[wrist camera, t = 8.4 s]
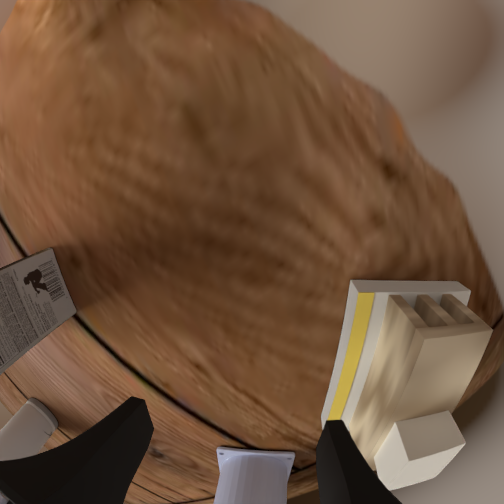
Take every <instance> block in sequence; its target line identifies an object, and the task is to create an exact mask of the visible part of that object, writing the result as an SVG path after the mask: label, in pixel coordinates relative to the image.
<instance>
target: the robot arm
mask: <svg viewBox="0 0 504 504" xmlns="http://www.w3.org/2000/svg"><path fill="white" fill-rule="evenodd" d="M153 431H154V427H153V424H152V421H151V418H150V415H149V412H148V409H147V406H146V403H145V400H144V399H140V398H136V397H133V396H132V397H130V398H129V399H128V400H126V401H125V402H124V403H123V404H121V405H120V406H119V407H118V408H116V409H115V410H114V411H113V412H111V413H110V414H109V415H108V416H106V417H105V418H104V419H102V420H101V421H100V422H98V423H97V424H95V425H94V426H93V427H91V428H90V429H88V430H87V431H85V432H84V433H82V434H80V435H79V436H77V437H76V438H74V439H72V440H70V441H68V442H66V443H64V444H62V445H60V446H58V447H56V448H53V449H51V450H48V451H46V452H43V453H40V454H37V455H33V456H29V457H25V458H20V459H14V460H5V461H0V504H123V502H124V499H125V496H126V493H127V490H128V488H129V485H130V483H131V481H132V479H133V477H134V475H135V473H136V471H137V469H138V467H139V465H140V463H141V461H142V459H143V457H144V455H145V453H146V451H147V449H148V446H149V443H150V440H151V437H152V434H153ZM217 457H218V463H219V469H220V477H219V482H218V486H217V491H216V495H215V500H214V504H286V499H287V481H288V478H289V475H290V472H291V468H292V465H293V462H294V458H295V453H294V452H281V451H259V450H247V449H236V448H228V447H218V448H217ZM316 470H317V478H318V487H319V495H320V503H321V504H402V503H401V502H400V501H399V500H398V499H397V498H396V497H395V496H394V495H393V494H392V493H391V492H390V491H389V490H388V489H387V488H386V486H385V485H384V484H383V483H382V482H381V481H380V479H379V478H378V477H377V476H376V474H375V473H374V471H373V470H372V469H371V467H370V466H369V464H368V463H367V461H366V460H365V458H364V457H363V455H362V454H361V452H360V451H359V449H358V447H357V446H356V444H355V442H354V440H353V439H352V437H351V435H350V433H349V431H348V429H347V427H346V425H345V423H344V421H343V420H326V423H325V426H324V428H323V431H322V434H321V437H320V439H319V442H318V444H317V447H316Z"/></svg>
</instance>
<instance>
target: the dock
mask: <svg viewBox="0 0 504 504" xmlns="http://www.w3.org/2000/svg"><path fill="white" fill-rule="evenodd" d="M470 293H471V291H470V290H469V289H467V288H466V287H465V286H463V285H462V284H460V283H459V282H458V281H387V280H350V286H349V292H348V299H347V305H346V311H345V316H344V322H343V327H342V332H341V337H340V342H339V347H338V351H337V356H336V360H335V365H334V369H333V373H332V377H331V381H330V385H329V389H328V393H327V396H326V400H325V404H324V407H323V411H322V414H321V420H322V428H324V426H325V423H326V420H343V421H344V423H345V425H346V427H347V429H348V431H350V429H349V423H350V421H351V418H352V416H353V414H354V411H355V408H356V406H357V403H358V401H359V398H360V395H361V392H362V390H363V387H364V384H365V381H366V378H367V375H368V372H369V369H370V366H371V362H372V359H373V356H374V352H375V349H376V345H377V342H378V338H379V334H380V331H381V327H382V323H383V319H384V314H385V310H386V306H387V301H388V296H389V295H401V296H402V297H403V298H404V299H405V301H406V302H407V303H408V304H409V305H410V306H411V307H412V308H413V309H414V307H415V303H416V299H417V295H421V294H428V295H429V296H430V297H431V298H432V299H433V300H434V301H435V302H436V303H437V304H438V305H440V302H441V298H442V294H452V295H453V296H454V297H456V298H457V299H458V300H459V301H461V302H462V303H463V304H464V305H465V306H467V304H468V300H469V297H470Z"/></svg>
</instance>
